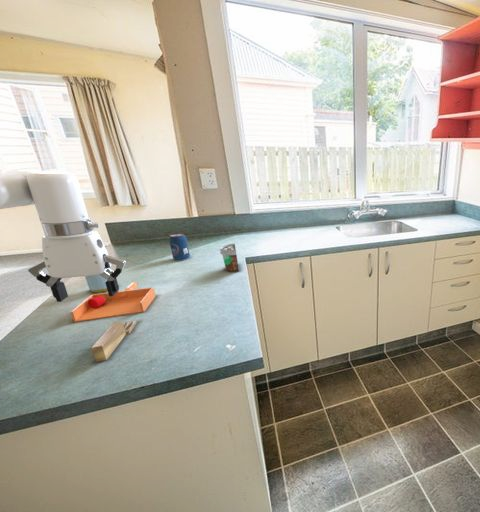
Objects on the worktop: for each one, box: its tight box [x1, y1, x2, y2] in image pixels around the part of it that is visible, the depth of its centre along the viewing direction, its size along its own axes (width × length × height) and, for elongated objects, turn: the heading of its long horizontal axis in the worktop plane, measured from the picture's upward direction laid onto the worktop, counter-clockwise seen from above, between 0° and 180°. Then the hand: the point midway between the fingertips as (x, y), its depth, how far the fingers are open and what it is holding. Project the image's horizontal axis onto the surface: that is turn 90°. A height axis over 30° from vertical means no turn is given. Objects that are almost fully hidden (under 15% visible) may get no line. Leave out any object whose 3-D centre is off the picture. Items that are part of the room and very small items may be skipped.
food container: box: [219, 243, 240, 273], centre depth 129 cm, size 12×6×10 cm, turn 27°
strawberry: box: [88, 296, 107, 308], centre depth 96 cm, size 3×3×4 cm
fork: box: [91, 320, 138, 363], centre depth 78 cm, size 4×18×4 cm, turn 22°
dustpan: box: [70, 281, 156, 323], centre depth 100 cm, size 22×17×3 cm
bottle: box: [84, 275, 108, 294], centre depth 107 cm, size 7×7×15 cm
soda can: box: [168, 233, 191, 262], centre depth 142 cm, size 7×7×12 cm
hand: (89, 296), depth 72 cm, fingers open, 9 cm apart
